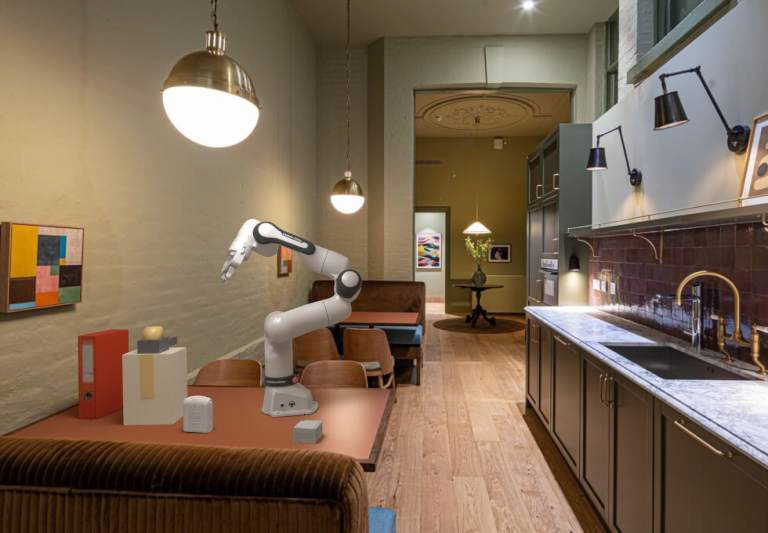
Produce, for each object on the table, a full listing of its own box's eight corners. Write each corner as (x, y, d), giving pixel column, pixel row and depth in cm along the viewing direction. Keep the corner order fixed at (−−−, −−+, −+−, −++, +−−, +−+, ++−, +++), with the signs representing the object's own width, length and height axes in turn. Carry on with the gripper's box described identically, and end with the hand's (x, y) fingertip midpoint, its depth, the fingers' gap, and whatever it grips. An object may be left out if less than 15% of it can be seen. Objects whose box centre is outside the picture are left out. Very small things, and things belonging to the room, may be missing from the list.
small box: (315, 444, 148) (315, 428, 148) (292, 443, 149) (292, 427, 149) (323, 435, 156) (322, 420, 156) (301, 434, 157) (301, 419, 157)
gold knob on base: (159, 353, 168) (158, 327, 168) (137, 353, 168) (137, 328, 168) (183, 343, 189) (182, 320, 189) (163, 343, 189) (163, 320, 189)
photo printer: (215, 429, 162) (214, 394, 162) (208, 433, 158) (208, 398, 158) (188, 428, 164) (187, 393, 164) (181, 432, 160) (180, 397, 160)
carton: (187, 412, 181) (186, 347, 181) (172, 424, 168) (171, 354, 167) (141, 413, 181) (140, 348, 180) (123, 425, 167) (122, 354, 167)
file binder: (129, 405, 191) (128, 329, 191) (97, 419, 174) (95, 336, 174) (113, 404, 192) (111, 329, 192) (78, 418, 175) (77, 335, 175)
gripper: (253, 248, 185) (238, 277, 178) (239, 262, 201) (225, 289, 195) (239, 240, 182) (223, 269, 176) (226, 255, 199) (211, 282, 192)
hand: (224, 280), depth 185 cm, fingers open, 8 cm apart
